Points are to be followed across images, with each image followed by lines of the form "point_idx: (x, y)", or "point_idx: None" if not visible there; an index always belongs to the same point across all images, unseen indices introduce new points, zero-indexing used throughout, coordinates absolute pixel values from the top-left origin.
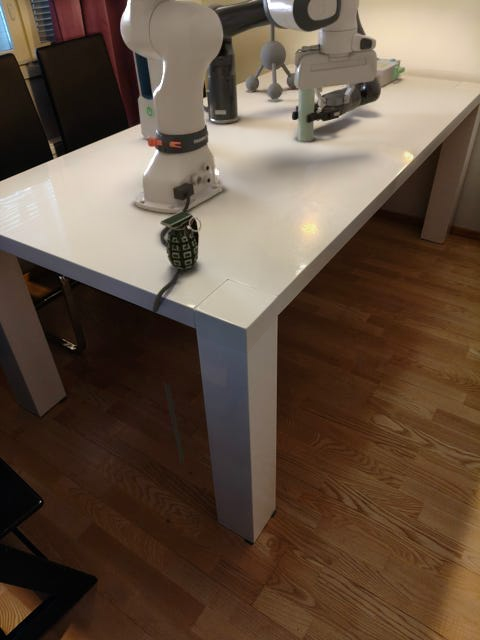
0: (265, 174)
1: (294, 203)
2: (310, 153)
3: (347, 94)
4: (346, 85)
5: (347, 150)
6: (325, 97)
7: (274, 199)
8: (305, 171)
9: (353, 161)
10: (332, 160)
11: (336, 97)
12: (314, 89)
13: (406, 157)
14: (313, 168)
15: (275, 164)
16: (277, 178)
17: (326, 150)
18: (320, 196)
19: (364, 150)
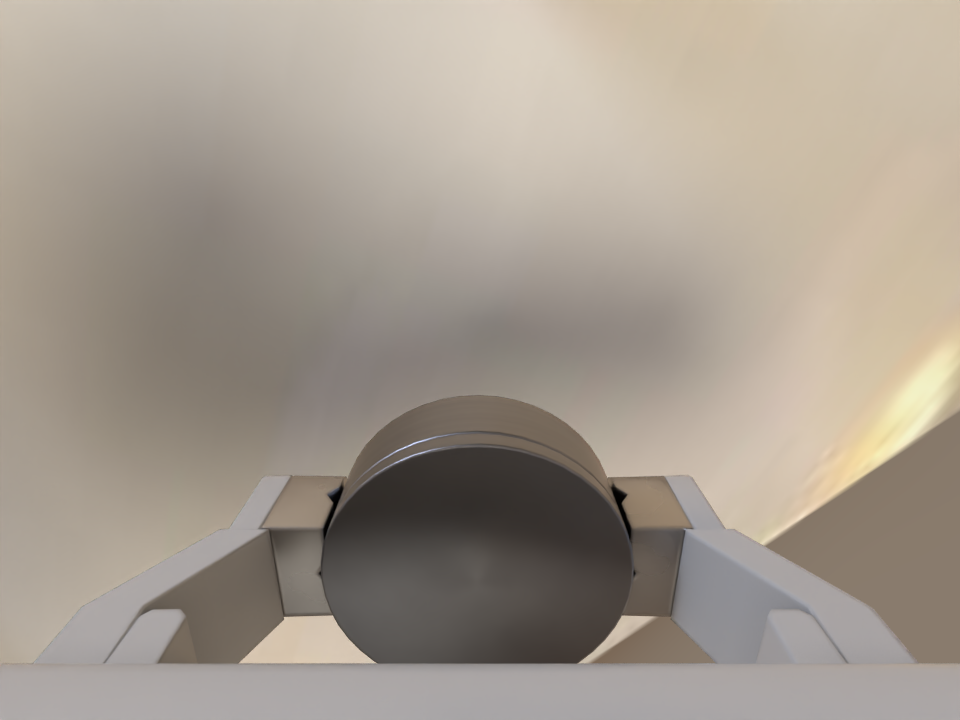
0: (46, 410)
1: None
2: (383, 155)
3: (686, 621)
4: (771, 642)
5: (649, 189)
6: (328, 599)
7: None
8: (280, 437)
9: (590, 385)
10: (481, 331)
11: (482, 654)
12: (65, 644)
13: (889, 422)
14: (334, 411)
15: (112, 279)
16: (114, 478)
17: (513, 133)
18: None
19: (751, 230)
